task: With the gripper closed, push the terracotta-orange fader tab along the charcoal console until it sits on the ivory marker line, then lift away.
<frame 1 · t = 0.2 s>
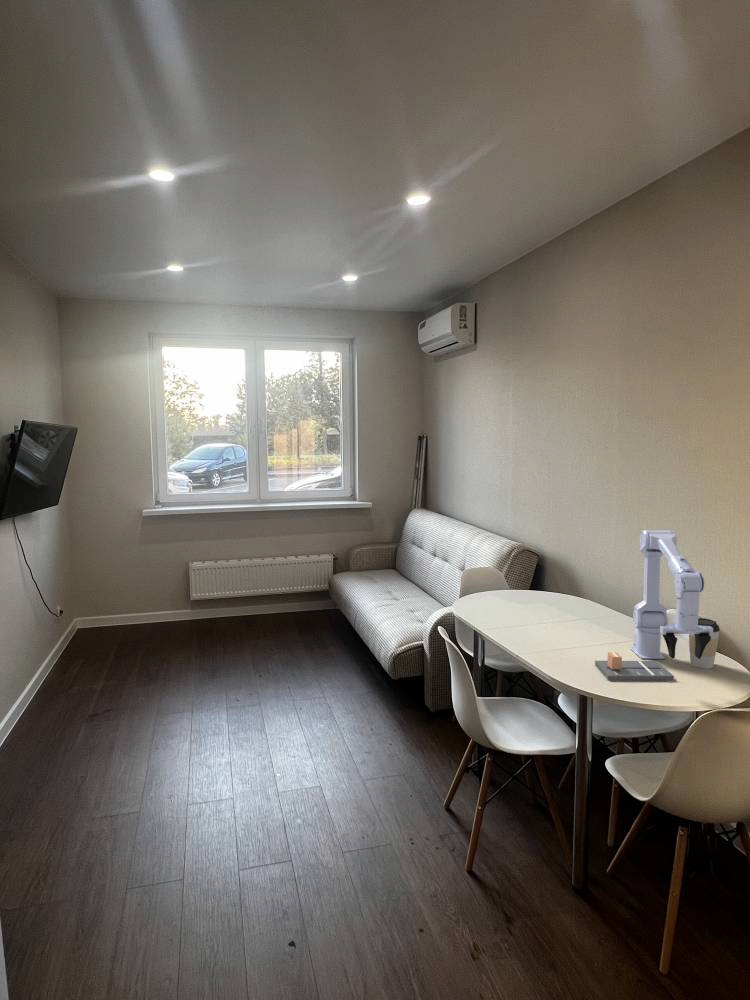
hand: (684, 657, 177), 10 cm above the table, fingers open, 7 cm apart
console: (633, 672, 191), on the table
fader tab: (614, 660, 190), point 4 cm above the table, slide at -6.0 cm
coffee cup: (701, 664, 197), on the table
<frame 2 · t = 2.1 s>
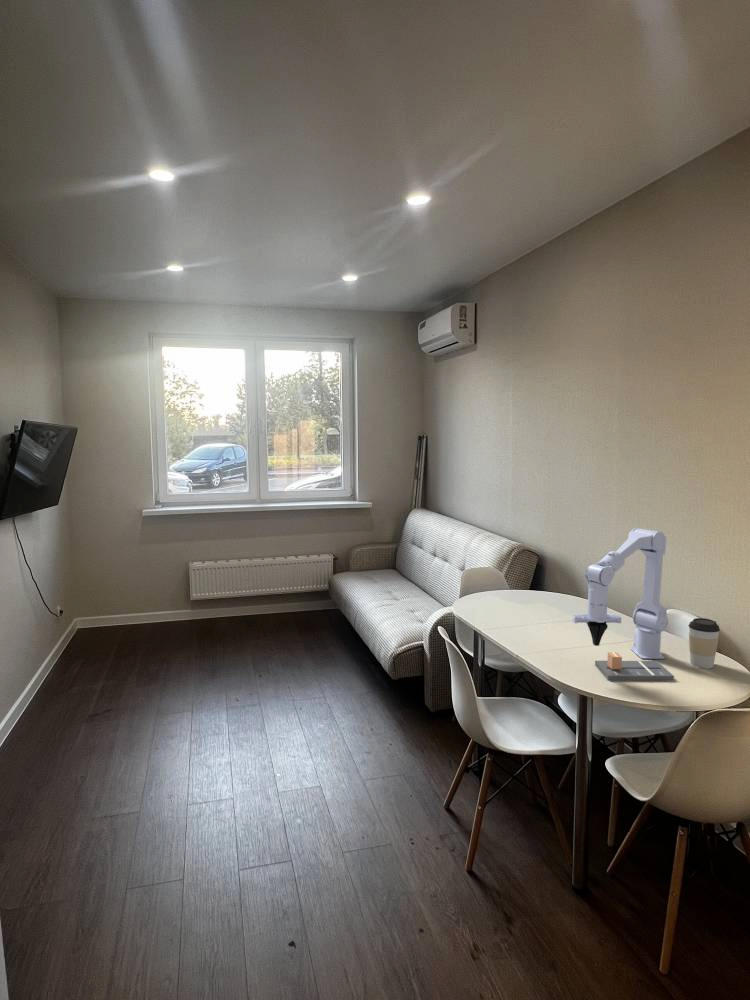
hand: (596, 644, 190), 9 cm above the table, fingers closed
nothing on the table moved.
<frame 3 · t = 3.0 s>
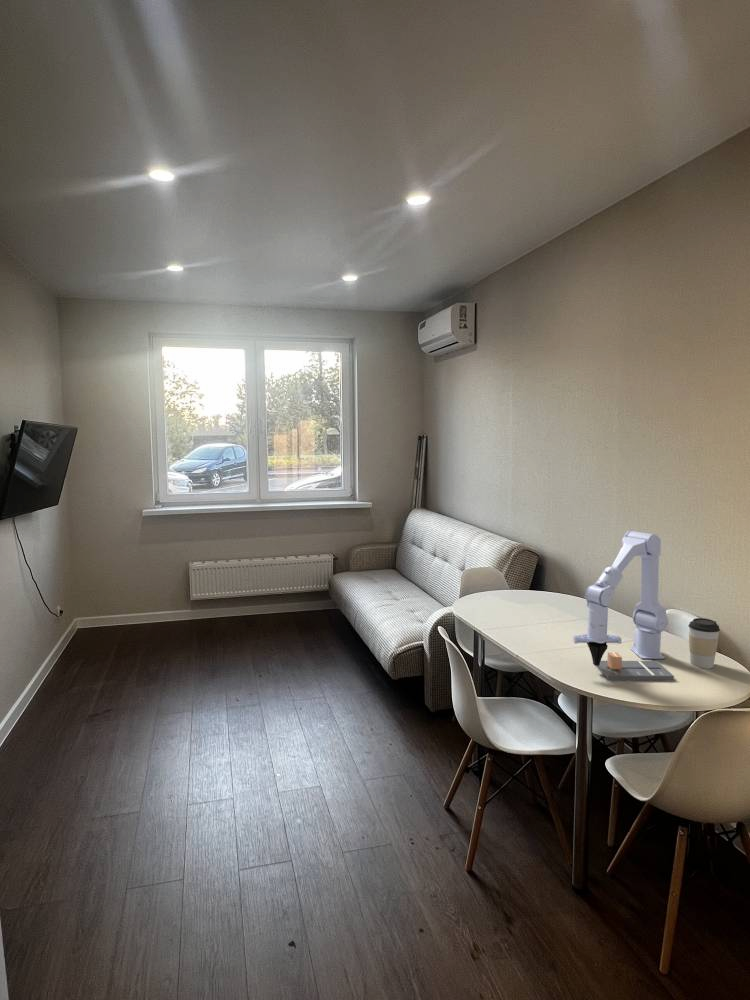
hand: (596, 664, 191), 3 cm above the table, fingers closed
nothing on the table moved.
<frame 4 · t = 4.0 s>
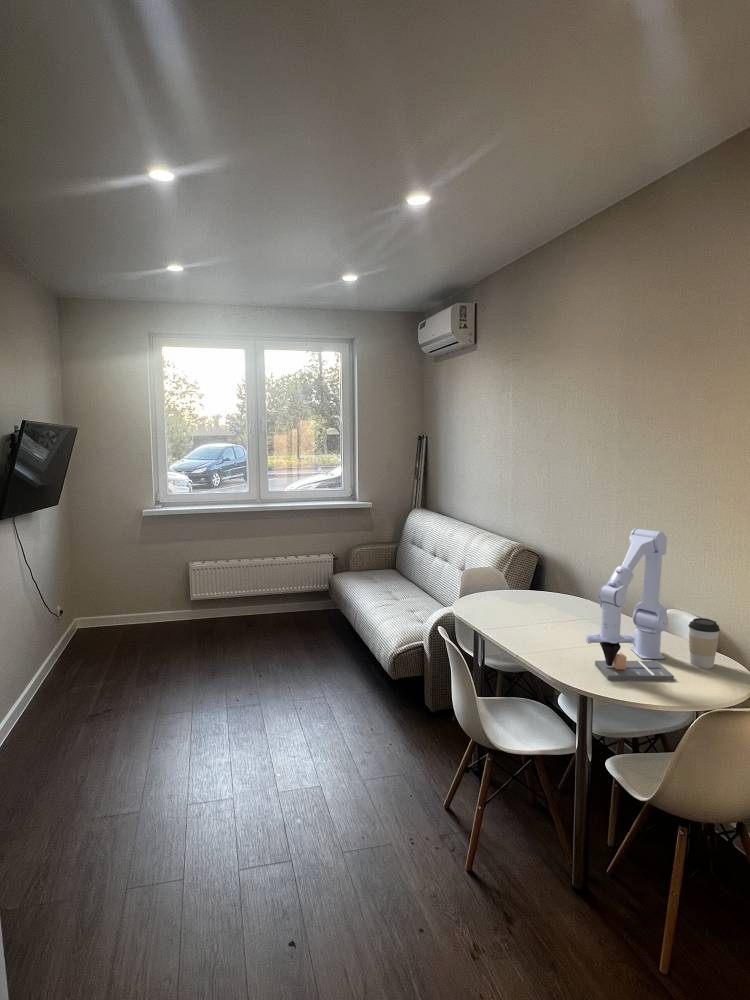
hand: (609, 664, 191), 3 cm above the table, fingers closed
fader tab: (619, 660, 190), point 4 cm above the table, slide at -4.6 cm, touching gripper
everything else where it was.
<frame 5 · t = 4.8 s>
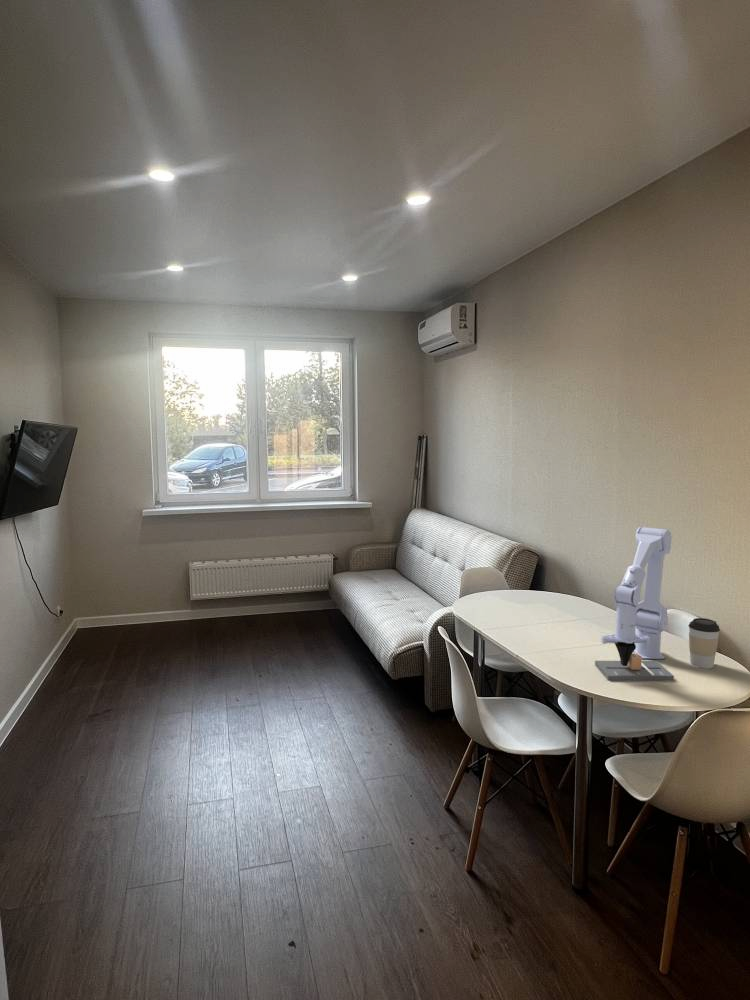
hand: (624, 664, 191), 3 cm above the table, fingers closed
fader tab: (634, 660, 190), point 4 cm above the table, slide at 0.2 cm, touching gripper
everything else where it was.
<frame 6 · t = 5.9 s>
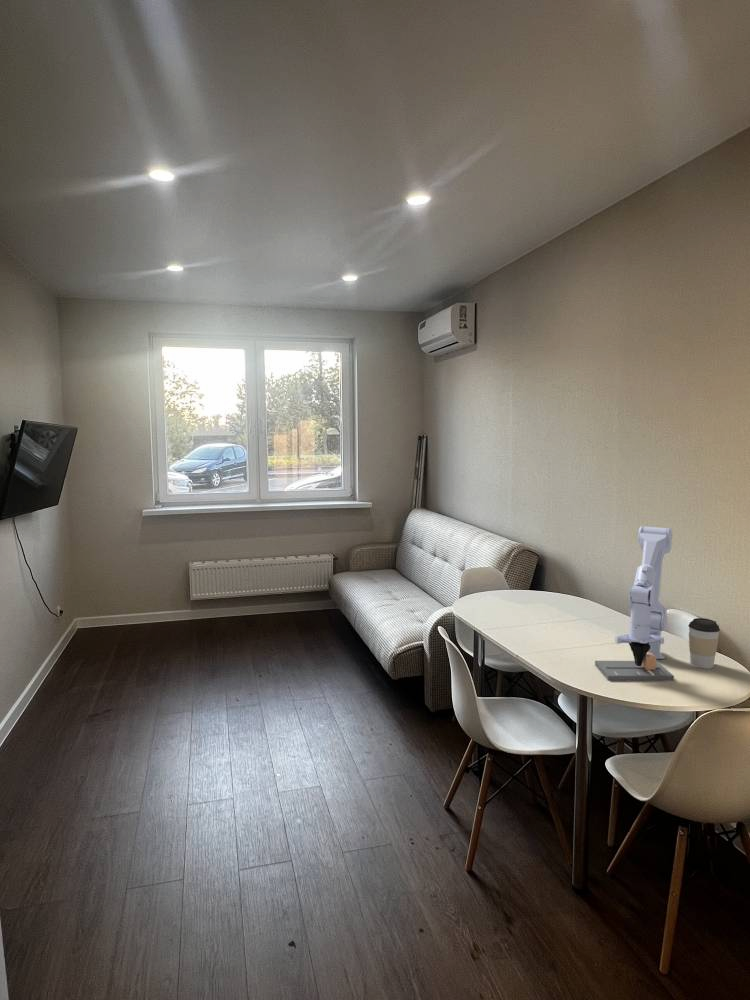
hand: (638, 664, 190), 3 cm above the table, fingers closed
fader tab: (648, 660, 190), point 4 cm above the table, slide at 4.6 cm, touching gripper
everything else where it was.
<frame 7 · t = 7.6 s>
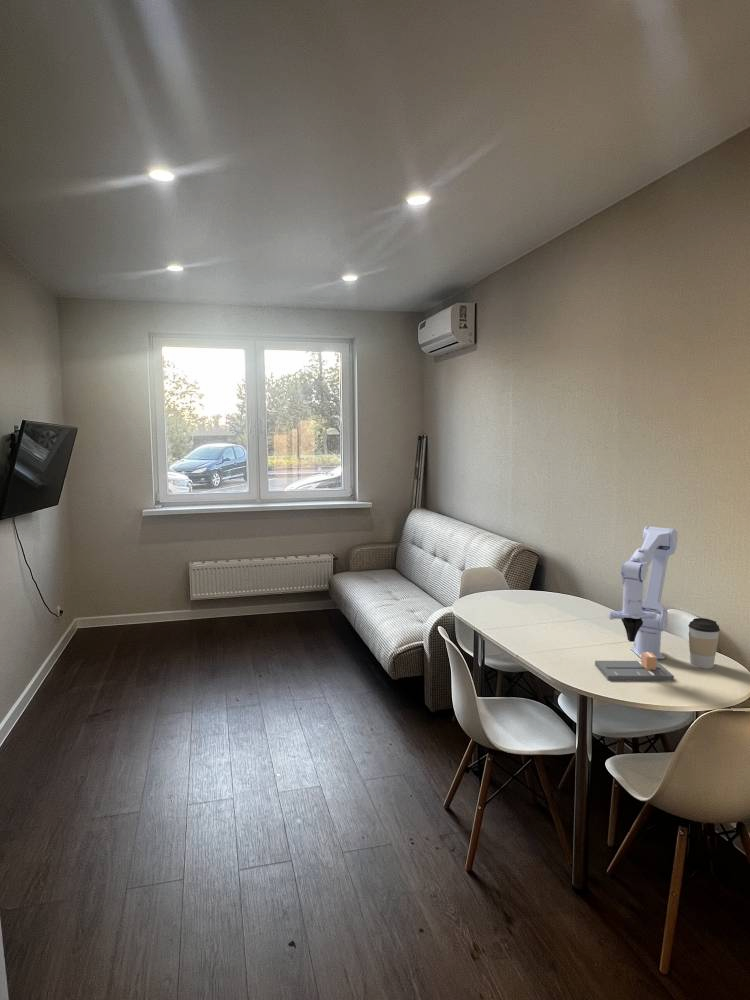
hand: (630, 640, 191), 10 cm above the table, fingers closed
fader tab: (648, 660, 190), point 4 cm above the table, slide at 4.8 cm
everything else where it was.
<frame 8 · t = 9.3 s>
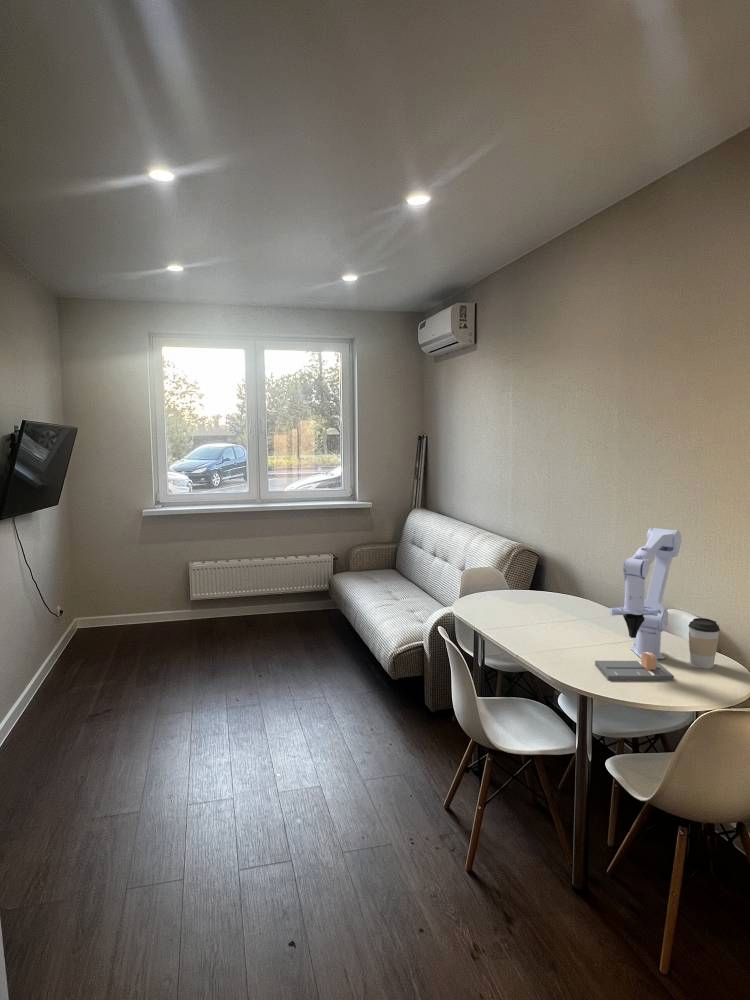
hand: (632, 636, 193), 10 cm above the table, fingers closed
nothing on the table moved.
at the end: fader tab slide at 4.8 cm; fader tab touching nothing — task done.
